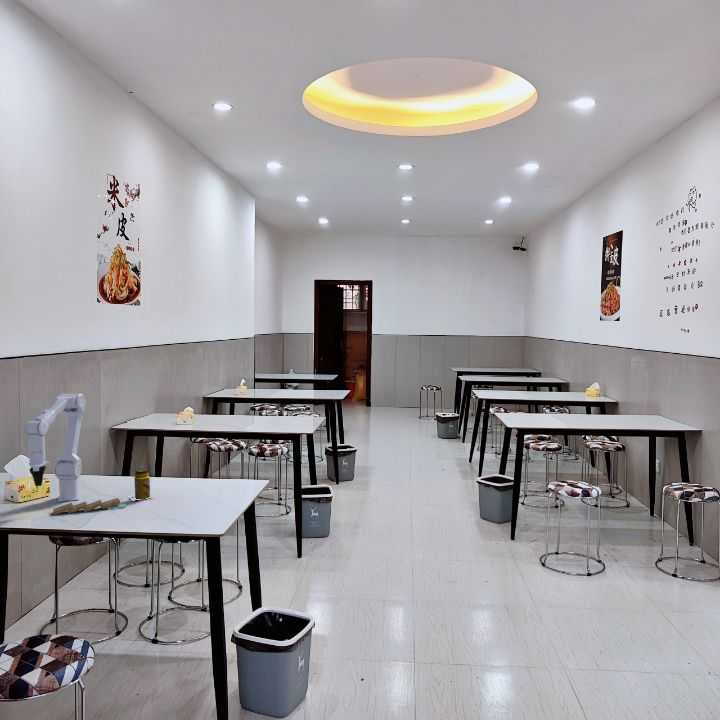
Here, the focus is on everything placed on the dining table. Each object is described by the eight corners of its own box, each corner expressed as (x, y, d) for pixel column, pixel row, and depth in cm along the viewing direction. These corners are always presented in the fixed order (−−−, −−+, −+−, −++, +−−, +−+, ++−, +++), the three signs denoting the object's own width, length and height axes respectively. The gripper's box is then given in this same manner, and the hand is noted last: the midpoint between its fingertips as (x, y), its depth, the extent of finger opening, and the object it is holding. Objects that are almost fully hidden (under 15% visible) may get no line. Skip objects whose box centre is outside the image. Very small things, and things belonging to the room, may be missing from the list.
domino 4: (99, 503, 282) (117, 497, 285) (100, 506, 282) (118, 501, 286) (101, 505, 278) (119, 500, 282) (102, 509, 278) (120, 503, 282)
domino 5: (106, 505, 283) (125, 503, 285) (107, 508, 283) (125, 506, 285) (107, 508, 278) (126, 505, 281) (107, 511, 279) (126, 509, 281)
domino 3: (82, 506, 279) (100, 499, 282) (83, 509, 279) (101, 502, 282) (83, 509, 275) (101, 502, 278) (84, 512, 275) (102, 505, 278)
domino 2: (67, 507, 278) (85, 501, 280) (68, 510, 278) (87, 504, 280) (67, 510, 273) (85, 504, 276) (68, 513, 274) (86, 507, 276)
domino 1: (53, 508, 276) (71, 502, 278) (54, 512, 276) (73, 505, 278) (53, 511, 272) (71, 505, 274) (54, 515, 272) (72, 508, 274)
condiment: (153, 498, 294) (152, 470, 294) (132, 502, 290) (131, 473, 289) (148, 495, 301) (147, 467, 300) (127, 498, 296) (126, 470, 295)
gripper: (46, 453, 269) (48, 489, 270) (49, 447, 283) (51, 480, 284) (26, 455, 267) (28, 490, 268) (30, 448, 281) (31, 482, 282)
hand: (38, 485), depth 276 cm, fingers closed
